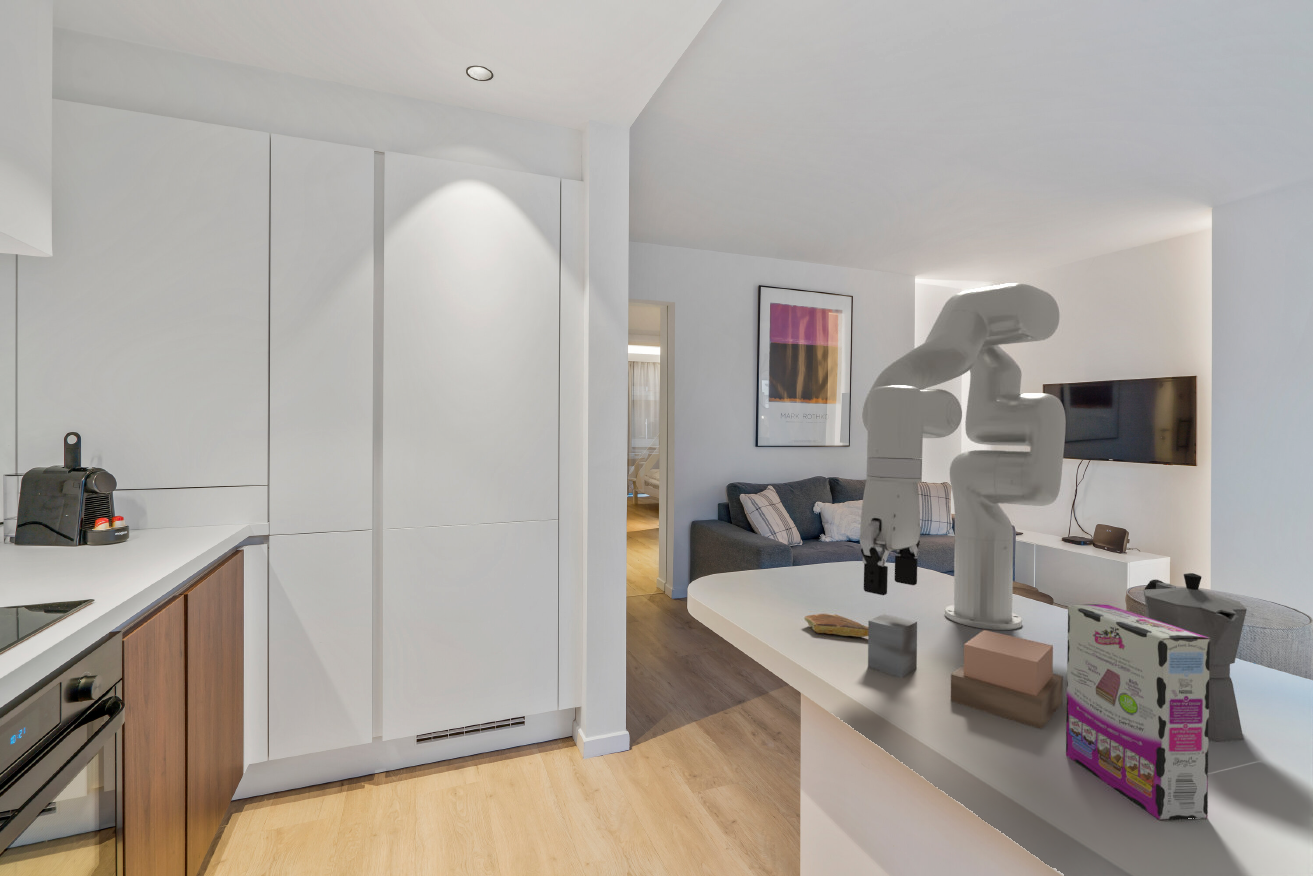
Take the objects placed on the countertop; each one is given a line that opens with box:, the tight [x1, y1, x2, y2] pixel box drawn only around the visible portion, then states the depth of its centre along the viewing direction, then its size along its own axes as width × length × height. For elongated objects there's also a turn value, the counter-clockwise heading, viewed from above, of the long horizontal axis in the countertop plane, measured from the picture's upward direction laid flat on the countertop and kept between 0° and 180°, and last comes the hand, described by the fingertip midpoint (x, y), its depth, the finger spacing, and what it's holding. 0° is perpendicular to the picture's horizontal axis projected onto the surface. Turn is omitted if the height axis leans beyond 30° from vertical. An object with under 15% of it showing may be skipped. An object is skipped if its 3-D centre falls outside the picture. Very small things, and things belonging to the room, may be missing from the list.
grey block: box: [867, 613, 918, 679], centre depth 86 cm, size 5×5×7 cm
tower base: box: [950, 664, 1064, 730], centre depth 75 cm, size 10×10×4 cm
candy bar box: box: [1065, 603, 1210, 822], centre depth 58 cm, size 11×5×16 cm, turn 5°
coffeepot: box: [1142, 572, 1247, 743], centre depth 71 cm, size 15×9×18 cm, turn 167°
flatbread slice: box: [804, 613, 868, 638], centre depth 101 cm, size 11×8×2 cm
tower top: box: [963, 629, 1054, 696], centre depth 75 cm, size 8×8×4 cm
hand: (890, 588), depth 86 cm, fingers open, 9 cm apart
